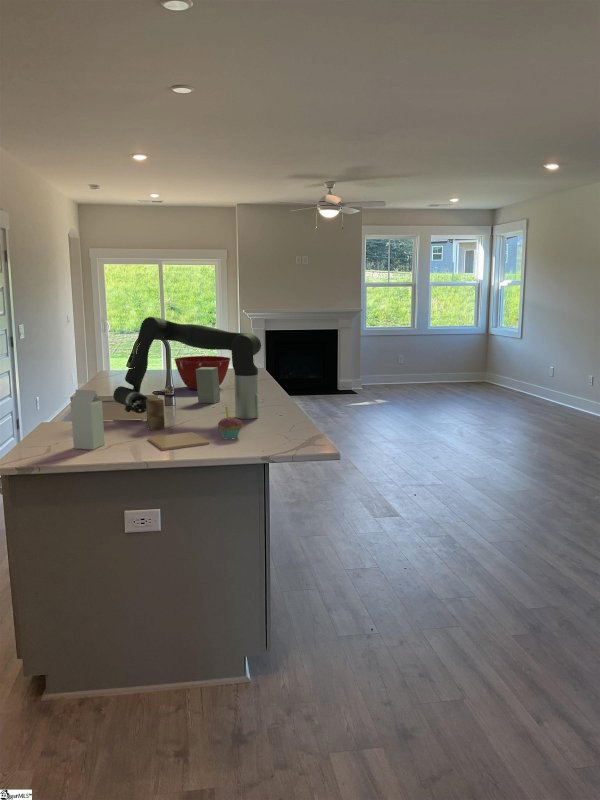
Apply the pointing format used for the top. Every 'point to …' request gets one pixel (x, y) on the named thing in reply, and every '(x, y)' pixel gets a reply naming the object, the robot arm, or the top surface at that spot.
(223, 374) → the mixing bowl
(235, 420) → the cupcake
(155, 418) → the walnut block
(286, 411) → the top surface
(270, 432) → the top surface
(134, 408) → the robot arm
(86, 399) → the milk carton
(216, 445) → the top surface
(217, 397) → the skincare box
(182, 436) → the wooden square board
